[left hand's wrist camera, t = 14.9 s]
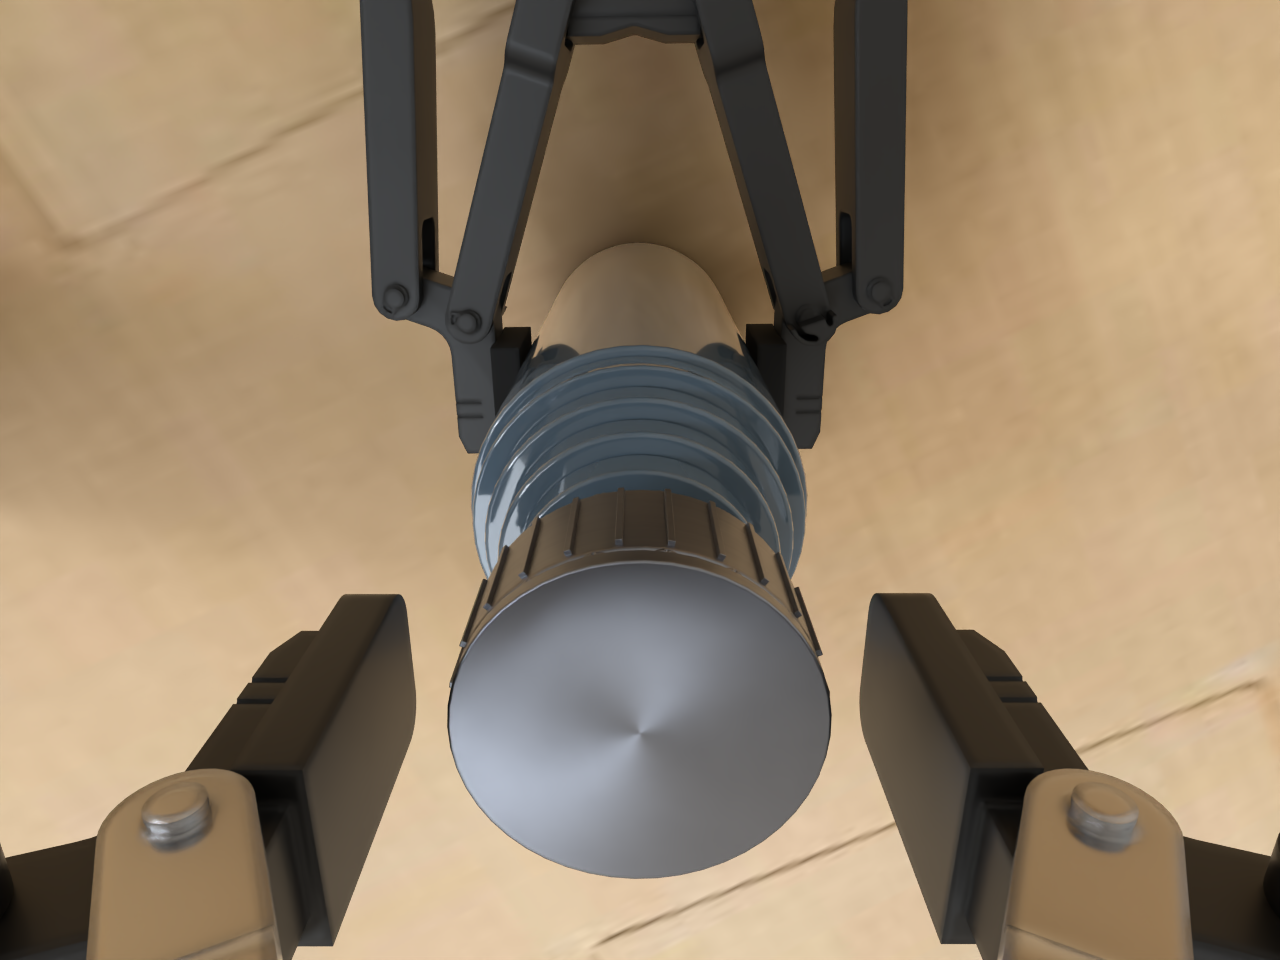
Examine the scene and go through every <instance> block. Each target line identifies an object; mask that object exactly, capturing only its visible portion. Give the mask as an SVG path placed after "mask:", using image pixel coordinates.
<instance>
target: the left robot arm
mask: <svg viewBox="0 0 1280 960" xmlns="http://www.w3.org/2000/svg"><path fill="white" fill-rule="evenodd" d="M415 716H416V690H415V681H414V672H413V663H412V654H411V645H410V635H409V626H408V617H407V610H406V605H405V601H404V599H403V597H402V596H401V595H400V594H345V595H343V596H342V597H341V598H340V599H339V601H338V602H337V604H336V605H335V607H334V608H333V610H332V612H331V613H330V615H329V616H328V618H327V619H326V621H325V622H324V624H323V625H322V627H321V629H320V630H319V631H301V632H299V633H298V634H296V635H295V636H293V637H292V638H291V639H289V640H288V641H286V642H285V643H283V644H282V645H280V646H279V647H278V648H276V649H275V650H273V651H272V652H270V654H269V655H268V656H267V658H266V659H265V660H264V662H263V663H262V665H261V666H260V667H259V669H258V670H257V672H256V673H255V674H254V676H253V677H252V683H248V684H247V686H246V687H245V688H244V690H243V691H242V693H241V694H240V695H239V697H238V698H237V704H233V705H232V707H231V708H230V709H229V711H228V712H227V714H226V715H225V716H224V718H223V719H222V720H221V722H220V723H219V725H218V726H217V727H216V729H215V730H214V732H213V733H212V734H211V736H210V737H209V739H208V740H207V741H206V743H205V744H204V746H203V747H202V748H201V750H200V751H199V753H198V754H197V755H196V757H195V758H194V760H193V761H192V762H191V764H190V765H189V767H188V768H187V769H186V771H185V772H181V773H177V774H174V775H171V776H168V777H165V778H162V779H160V780H157V781H155V782H153V783H150V784H149V785H147V786H145V787H143V788H141V789H139V790H138V791H136V792H135V793H133V794H131V795H130V796H128V797H127V798H126V799H125V800H123V801H122V802H121V803H120V804H118V805H117V806H116V807H115V808H114V809H113V810H112V811H111V812H110V813H109V815H108V816H107V817H106V819H105V820H104V822H103V823H102V825H101V827H100V829H99V831H98V835H97V836H95V837H92V838H89V839H85V840H82V841H78V842H74V843H70V844H65V845H61V846H56V847H52V848H47V849H43V850H38V851H34V852H29V853H25V854H21V855H16V856H12V857H7V858H5V856H4V853H3V850H2V847H1V844H0V960H292V957H293V955H294V953H295V950H296V948H297V946H333V945H334V942H335V939H336V937H337V934H338V932H339V929H340V926H341V924H342V921H343V918H344V916H345V913H346V910H347V908H348V905H349V903H350V900H351V897H352V895H353V892H354V889H355V887H356V884H357V881H358V879H359V876H360V874H361V871H362V868H363V866H364V863H365V860H366V858H367V855H368V852H369V850H370V847H371V845H372V842H373V839H374V837H375V834H376V831H377V829H378V826H379V823H380V821H381V818H382V816H383V813H384V810H385V808H386V805H387V802H388V800H389V797H390V794H391V792H392V789H393V787H394V784H395V781H396V779H397V776H398V773H399V771H400V768H401V765H402V763H403V760H404V758H405V755H406V752H407V750H408V747H409V744H410V742H411V739H412V735H413V730H414V724H415ZM860 718H861V725H862V731H863V735H864V739H865V742H866V744H867V747H868V750H869V752H870V755H871V758H872V760H873V763H874V766H875V768H876V771H877V774H878V776H879V779H880V782H881V785H882V787H883V790H884V793H885V795H886V798H887V801H888V803H889V806H890V809H891V811H892V814H893V817H894V819H895V822H896V825H897V827H898V830H899V833H900V835H901V838H902V841H903V844H904V846H905V849H906V852H907V854H908V857H909V860H910V862H911V865H912V868H913V870H914V873H915V876H916V878H917V881H918V884H919V886H920V889H921V892H922V895H923V897H924V900H925V903H926V905H927V908H928V911H929V913H930V916H931V919H932V921H933V924H934V927H935V929H936V932H937V935H938V937H939V940H940V943H941V944H977V947H978V949H979V952H980V954H981V956H982V959H983V960H1280V833H1279V835H1278V838H1277V841H1276V844H1275V847H1274V850H1273V853H1272V856H1266V855H1262V854H1257V853H1253V852H1249V851H1244V850H1240V849H1235V848H1231V847H1226V846H1222V845H1217V844H1213V843H1208V842H1204V841H1199V840H1195V839H1192V838H1188V837H1184V836H1183V835H1182V831H1181V829H1180V827H1179V825H1178V823H1177V822H1176V820H1175V819H1174V817H1173V816H1172V815H1171V813H1170V812H1169V811H1168V810H1167V809H1166V808H1165V807H1164V806H1163V805H1162V804H1160V803H1159V802H1158V801H1157V800H1155V799H1154V798H1153V797H1152V796H1150V795H1149V794H1147V793H1145V792H1144V791H1142V790H1141V789H1139V788H1137V787H1135V786H1133V785H1131V784H1130V783H1127V782H1125V781H1123V780H1120V779H1118V778H1115V777H1112V776H1109V775H1106V774H1103V773H1099V772H1094V771H1090V770H1088V768H1087V767H1086V766H1085V764H1084V763H1083V761H1082V760H1081V759H1080V757H1079V756H1078V754H1077V753H1076V752H1075V750H1074V749H1073V747H1072V746H1071V744H1070V743H1069V742H1068V740H1067V739H1066V737H1065V736H1064V735H1063V733H1062V732H1061V730H1060V729H1059V728H1058V726H1057V725H1056V723H1055V722H1054V720H1053V719H1052V718H1051V716H1050V715H1049V713H1048V712H1047V711H1046V709H1045V708H1044V706H1043V705H1042V704H1041V703H1038V702H1037V696H1036V695H1035V694H1034V692H1033V691H1032V689H1031V688H1030V687H1029V685H1028V684H1027V682H1026V681H1023V680H1022V675H1021V674H1020V672H1019V671H1018V670H1017V668H1016V667H1015V665H1014V664H1013V663H1012V661H1011V660H1010V658H1009V657H1008V656H1007V654H1006V653H1005V651H1003V650H1002V649H1000V648H999V647H998V646H996V645H995V644H993V643H992V642H990V641H989V640H987V639H986V638H985V637H983V636H982V635H980V634H979V633H977V632H976V631H975V630H956V629H955V628H954V626H953V625H952V623H951V621H950V620H949V618H948V617H947V615H946V614H945V612H944V611H943V609H942V607H941V606H940V604H939V603H938V601H937V600H936V598H935V597H934V596H933V595H932V594H930V593H876V594H874V595H873V597H872V599H871V602H870V606H869V612H868V621H867V630H866V639H865V649H864V658H863V667H862V676H861V686H860Z"/></svg>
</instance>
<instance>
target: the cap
mask: <svg viewBox="0 0 1280 960" xmlns="http://www.w3.org/2000/svg"><path fill="white" fill-rule="evenodd" d="M460 646H461V647H462V649H461V651H460V654H459V657H458V660H457V663H456V666H455V669H454V672H453V675H452V678H451V680H450V686H449V687H450V688H451V690H450V696H449V702H448V720H447V728H448V735H449V742H450V748H451V751H452V755H453V758H454V761H455V765H456V768H457V770H458V772H459V774H460V777H461V779H462V781H463V783H464V785H465V787H466V789H467V790H468V792H469V793H470V795H471V796H472V798H473V799H474V801H475V802H476V804H477V805H478V806H479V808H480V809H481V810H482V811H483V812H484V813H485V814H486V816H487V817H488V818H489V819H490V820H491V821H492V822H493V823H494V824H495V825H496V826H497V827H499V828H500V829H501V830H502V831H503V832H504V833H505V834H506V835H508V836H509V837H511V838H512V839H513V840H515V841H516V842H518V843H519V844H521V845H522V846H524V847H525V848H527V849H529V850H530V851H532V852H534V853H536V854H538V855H540V856H542V857H543V858H545V859H548V860H550V861H553V862H555V863H558V864H560V865H563V866H565V867H568V868H572V869H575V870H579V871H583V872H586V873H590V874H596V875H602V876H608V877H616V878H630V879H644V878H662V877H670V876H678V875H683V874H687V873H692V872H696V871H700V870H704V869H707V868H710V867H712V866H715V865H718V864H721V863H724V862H726V861H728V860H730V859H732V858H735V857H737V856H739V855H741V854H743V853H745V852H747V851H748V850H750V849H751V848H753V847H755V846H756V845H758V844H759V843H761V842H763V841H764V840H765V839H767V838H768V837H769V836H770V835H772V834H773V833H774V832H775V831H777V830H778V829H779V828H780V827H781V826H782V825H783V824H784V823H785V822H786V821H787V820H788V819H789V818H790V817H791V816H792V815H793V814H794V813H795V812H796V811H797V809H798V808H799V807H800V805H801V804H802V803H803V801H804V800H805V799H806V797H807V796H808V795H809V793H810V791H811V789H812V787H813V786H814V784H815V782H816V780H817V778H818V777H819V774H820V771H821V769H822V766H823V763H824V761H825V758H826V755H827V750H828V745H829V740H830V735H831V716H832V714H831V705H830V691H829V688H828V685H827V682H826V679H825V676H824V673H823V670H822V667H821V664H820V661H819V659H818V656H821V655H823V654H822V651H821V648H820V645H819V642H818V640H817V637H816V634H815V631H814V628H813V626H812V623H811V620H810V617H809V614H808V611H807V609H806V606H805V603H804V600H803V597H802V595H801V592H800V589H799V587H796V588H794V586H793V584H792V582H791V579H790V577H789V575H788V572H787V569H786V566H785V563H784V560H783V557H782V555H781V554H780V552H777V553H776V554H775V553H774V551H773V550H772V549H771V548H770V547H769V545H768V544H767V543H766V542H765V541H764V540H763V539H762V538H761V537H760V536H759V535H758V534H757V533H756V532H755V530H754V527H753V525H752V524H751V523H749V522H748V523H747V524H745V523H743V522H742V521H740V520H739V519H737V518H736V517H734V516H733V515H731V514H730V513H728V512H726V511H725V510H722V509H720V508H719V507H716V505H715V502H713V501H710V500H709V502H708V503H706V502H704V501H701V500H698V499H695V498H692V497H689V496H684V495H680V494H675V493H671V489H665V490H664V491H661V490H656V491H652V490H625V489H624V487H623V488H618V491H616V492H609V493H601V494H596V495H594V496H591V497H587V498H584V499H579V497H576V498H573V501H572V503H570V504H568V505H565V506H563V507H561V508H558V509H556V510H555V511H553V512H551V513H550V514H548V515H545V516H544V517H543V518H541V519H540V518H539V517H536V518H535V519H533V522H532V526H530V527H529V528H528V529H527V530H525V531H524V532H523V533H522V534H521V535H520V536H519V537H518V538H517V539H516V540H515V541H514V542H513V543H512V544H511V545H510V546H509V547H508V546H507V545H505V546H504V547H503V548H502V550H501V553H500V556H499V559H498V562H497V563H496V565H495V567H494V569H493V571H492V573H491V574H490V576H489V578H488V580H486V579H483V581H482V583H481V586H480V588H479V591H478V594H477V597H476V600H475V603H474V606H473V608H472V611H471V614H470V617H469V620H468V623H467V625H466V628H465V631H464V634H463V637H462V640H461V642H460Z"/></svg>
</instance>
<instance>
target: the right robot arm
mask: <svg viewBox="0 0 1280 960" xmlns="http://www.w3.org/2000/svg"><path fill="white" fill-rule="evenodd" d="M360 17H361V41H362V65H363V88H364V112H365V136H366V159H367V183H368V207H369V231H370V254H371V278H372V297H373V301H374V305H375V307H376V308H377V309H378V311H379V312H380V313H381V314H382V315H384V316H385V317H386V318H388V319H392V320H396V321H398V320H405V319H406V320H409V321H412V322H415V323H418V324H421V325H424V326H427V327H430V328H432V329H434V330H436V331H437V332H439V333H440V334H441V335H442V336H443V337H444V338H445V339H446V341H447V342H448V344H449V347H450V350H451V354H452V364H453V375H454V386H455V397H456V408H457V415H458V418H457V419H458V429H459V437H460V439H461V441H462V443H463V445H464V447H465V449H466V451H467V453H479V452H480V448H481V445H482V443H483V441H484V439H485V437H486V435H487V433H488V431H489V429H490V427H491V425H492V423H493V421H494V419H495V417H496V415H497V413H498V411H499V409H500V407H501V405H502V403H503V401H504V400H505V398H506V396H507V394H508V392H509V390H510V388H511V386H512V384H513V382H514V380H515V378H516V376H517V374H518V372H519V370H520V368H521V366H522V364H523V362H524V360H525V358H526V356H527V354H528V352H529V350H530V348H531V346H532V342H531V327H505V328H504V329H503V327H502V315H503V314H504V312H505V310H506V308H507V307H506V306H505V304H506V300H507V296H508V292H509V288H510V284H511V281H512V277H513V273H514V269H515V265H516V262H517V258H518V254H519V250H520V246H521V242H522V239H523V235H524V231H525V227H526V223H527V219H528V216H529V212H530V208H531V204H532V200H533V196H534V193H535V189H536V185H537V181H538V177H539V174H540V170H541V166H542V162H543V158H544V154H545V151H546V147H547V143H548V139H549V135H550V131H551V128H552V124H553V120H554V116H555V112H556V109H557V105H558V101H559V97H560V93H561V90H562V87H563V84H564V81H565V79H566V76H567V73H568V69H569V66H570V62H571V58H572V54H573V50H574V47H575V45H585V44H606V43H609V42H612V41H616V40H619V39H622V38H625V37H628V36H632V35H638V36H641V37H645V38H648V39H652V40H655V41H659V42H662V43H695V47H696V50H697V54H698V57H699V60H700V64H701V67H702V70H703V73H704V76H705V79H706V81H707V83H708V86H709V89H710V92H711V96H712V99H713V103H714V106H715V110H716V113H717V117H718V120H719V123H720V127H721V130H722V134H723V137H724V141H725V144H726V147H727V151H728V154H729V158H730V161H731V165H732V168H733V172H734V175H735V178H736V182H737V185H738V189H739V192H740V196H741V199H742V203H743V206H744V209H745V213H746V216H747V220H748V223H749V227H750V230H751V233H752V237H753V240H754V244H755V247H756V251H757V254H758V258H759V261H760V264H761V268H762V271H763V275H764V278H765V282H766V285H767V288H768V292H769V295H770V299H771V302H772V306H773V309H774V310H775V312H774V326H773V324H746V346H747V348H748V350H749V352H750V354H751V356H752V358H753V360H754V362H755V364H756V366H757V368H758V369H759V371H760V373H761V375H762V377H763V379H764V381H765V383H766V385H767V387H768V389H769V391H770V393H771V395H772V397H773V399H774V401H775V403H776V405H777V407H778V408H779V410H780V412H781V414H782V416H783V418H784V420H785V422H786V424H787V426H788V428H789V430H790V432H791V434H792V436H793V438H794V441H795V443H796V446H797V448H798V449H812V447H813V445H814V443H815V441H816V439H817V437H818V435H819V433H820V424H821V409H822V394H823V378H824V363H825V349H826V344H827V341H828V340H829V339H830V338H831V337H832V336H833V335H834V333H835V331H836V328H837V327H838V326H840V325H841V324H843V323H845V322H847V321H850V320H853V319H855V318H858V317H861V316H863V315H866V314H869V313H873V314H882V313H885V312H888V311H890V310H891V309H892V308H894V307H895V306H896V305H897V304H898V302H899V300H900V299H901V296H902V292H903V264H904V198H905V132H906V66H907V0H835V7H834V106H835V188H836V267H833V268H831V269H828V270H825V271H823V272H821V270H820V266H819V263H818V259H817V255H816V251H815V248H814V244H813V240H812V236H811V233H810V229H809V225H808V221H807V218H806V214H805V210H804V206H803V203H802V199H801V195H800V191H799V188H798V184H797V180H796V176H795V173H794V169H793V165H792V162H791V158H790V154H789V150H788V147H787V143H786V139H785V135H784V132H783V128H782V124H781V120H780V117H779V113H778V109H777V105H776V102H775V98H774V94H773V90H772V87H771V83H770V79H769V75H768V72H767V68H766V63H765V56H764V46H763V41H762V37H761V33H760V29H759V25H758V21H757V18H756V14H755V10H754V6H753V2H752V0H516V4H515V8H514V12H513V16H512V21H511V25H510V29H509V33H508V38H507V42H506V48H505V62H504V69H503V73H502V78H501V82H500V86H499V90H498V94H497V99H496V103H495V107H494V111H493V116H492V120H491V124H490V128H489V132H488V137H487V141H486V145H485V149H484V153H483V158H482V162H481V166H480V170H479V174H478V179H477V183H476V187H475V191H474V196H473V200H472V204H471V208H470V212H469V217H468V221H467V225H466V229H465V233H464V238H463V242H462V246H461V250H460V254H459V259H458V263H457V267H456V271H455V276H454V277H452V276H449V275H447V274H444V273H441V272H439V253H438V184H437V115H436V47H435V22H434V11H433V5H432V0H360Z"/></svg>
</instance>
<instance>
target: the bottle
mask: <svg viewBox="0 0 1280 960" xmlns="http://www.w3.org/2000/svg"><path fill="white" fill-rule="evenodd" d="M623 487H624V489H625V490H652V491H656V490H661V491H664V490H665V489H671V493H675V494H680V495H684V496H689V497H692V498H695V499H698V500H701V501H704V502H706V503H708V502H709V500H710V501H713V502H715V505H716V507H719V508H720V509H722V510H725V511H726V512H728V513H730V514H731V515H733V516H734V517H736V518H737V519H739V520H740V521H742V522H743V523H745V524H747V523H748V522H749V523H751V524H752V525H753V527H754V530H755V532H756V533H757V534H758V535H759V536H760V537H761V538H762V539H763V540H764V541H765V542H766V543H767V544H768V545H769V547H770V548H771V549H772V550H773V551H774V553H775V554H776V553H777V552H780V554H781V555H782V557H783V560H784V563H785V566H786V569H787V572H788V575H789V577H790V579H791V578H792V576H793V574H794V572H795V570H796V567H797V564H798V561H799V558H800V555H801V551H802V546H803V540H804V535H805V521H806V515H807V487H806V478H805V472H804V468H803V464H802V460H801V456H800V453H799V451H798V448H797V446H796V443H795V441H794V438H793V436H792V434H791V432H790V430H789V428H788V426H787V424H786V422H785V420H784V418H783V416H782V414H781V412H780V410H779V408H778V407H777V405H776V403H775V401H774V399H773V397H772V395H771V393H770V391H769V389H768V387H767V385H766V383H765V381H764V379H763V377H762V375H761V373H760V371H759V369H758V368H757V366H756V364H755V362H754V360H753V358H752V356H751V354H750V352H749V350H748V348H747V346H746V344H745V342H744V340H743V338H742V336H741V334H740V332H739V330H738V329H737V327H736V325H735V323H734V321H733V319H732V317H731V315H730V313H729V311H728V309H727V307H726V305H725V303H724V301H723V299H722V297H721V295H720V293H719V291H718V290H717V288H716V286H715V285H714V283H713V281H712V280H711V279H710V277H709V276H708V275H707V274H706V272H705V271H704V270H703V269H702V268H701V267H700V266H699V265H698V264H696V263H695V262H694V261H692V260H691V259H690V258H688V257H687V256H685V255H683V254H681V253H680V252H678V251H676V250H673V249H670V248H668V247H665V246H661V245H657V244H651V243H627V244H621V245H616V246H613V247H610V248H607V249H605V250H603V251H600V252H598V253H596V254H594V255H593V256H591V257H590V258H588V259H587V260H585V261H584V262H583V263H582V264H581V265H579V266H578V267H577V268H576V269H575V270H574V271H573V272H572V274H571V275H570V276H569V277H568V278H567V280H566V281H565V283H564V284H563V286H562V288H561V290H560V291H559V293H558V295H557V297H556V299H555V301H554V303H553V305H552V307H551V309H550V311H549V313H548V315H547V317H546V319H545V321H544V323H543V325H542V327H541V329H540V331H539V333H538V335H537V337H536V339H535V341H534V343H533V345H532V346H531V348H530V350H529V352H528V354H527V356H526V358H525V360H524V362H523V364H522V366H521V368H520V370H519V372H518V374H517V376H516V378H515V380H514V382H513V384H512V386H511V388H510V390H509V392H508V394H507V396H506V398H505V400H504V401H503V403H502V405H501V407H500V409H499V411H498V413H497V415H496V417H495V419H494V421H493V423H492V425H491V427H490V429H489V431H488V433H487V435H486V437H485V439H484V441H483V443H482V445H481V448H480V452H479V455H478V458H477V461H476V464H475V468H474V474H473V480H472V487H471V510H472V519H473V531H474V540H475V545H476V549H477V553H478V557H479V561H480V564H481V566H482V568H483V571H484V573H485V576H486V578H487V580H488V578H489V576H490V574H491V573H492V571H493V569H494V567H495V565H496V563H497V562H498V559H499V556H500V553H501V550H502V548H503V547H504V546H505V545H507V546H508V547H509V546H510V545H511V544H512V543H513V542H514V541H515V540H516V539H517V538H518V537H519V536H520V535H521V534H522V533H523V532H524V531H525V530H527V529H528V528H529V527H530V526H532V522H533V519H535V518H536V517H539V518H540V519H541V518H543V517H544V516H545V515H548V514H550V513H551V512H553V511H555V510H556V509H558V508H561V507H563V506H565V505H568V504H570V503H572V501H573V498H576V497H579V499H584V498H587V497H591V496H594V495H596V494H601V493H609V492H616V491H618V488H623Z"/></svg>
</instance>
